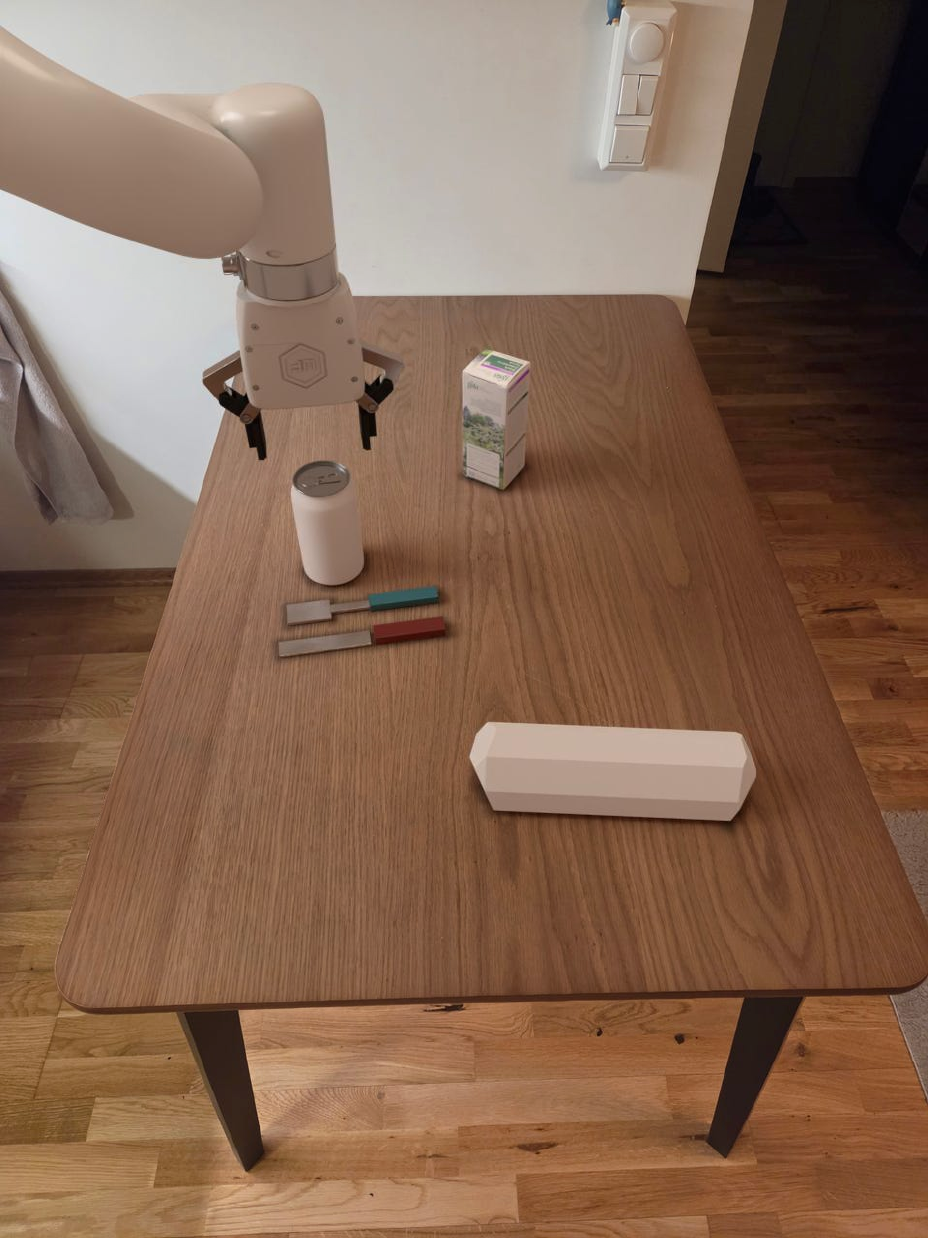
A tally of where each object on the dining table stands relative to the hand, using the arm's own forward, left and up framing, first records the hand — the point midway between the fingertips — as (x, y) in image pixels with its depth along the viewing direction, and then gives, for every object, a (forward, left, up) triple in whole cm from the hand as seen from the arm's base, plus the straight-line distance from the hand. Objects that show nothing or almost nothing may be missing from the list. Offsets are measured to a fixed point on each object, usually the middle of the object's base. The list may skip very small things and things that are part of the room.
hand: (314, 446), depth 81 cm
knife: (+2, -11, -16) cm, 19 cm away
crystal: (+21, -31, -16) cm, 41 cm away
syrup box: (+20, +13, -16) cm, 29 cm away
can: (0, 0, -16) cm, 16 cm away
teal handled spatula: (+2, -6, -16) cm, 17 cm away
